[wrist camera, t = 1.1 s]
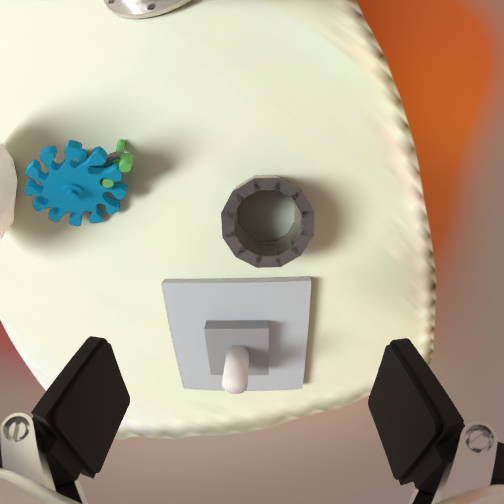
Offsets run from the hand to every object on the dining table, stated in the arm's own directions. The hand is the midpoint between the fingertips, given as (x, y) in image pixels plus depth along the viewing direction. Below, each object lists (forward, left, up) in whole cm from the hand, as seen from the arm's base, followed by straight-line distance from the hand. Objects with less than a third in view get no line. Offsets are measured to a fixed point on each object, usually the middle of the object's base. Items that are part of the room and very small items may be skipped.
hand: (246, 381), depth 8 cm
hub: (-2, +1, -18) cm, 18 cm away
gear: (-6, -15, -18) cm, 24 cm away
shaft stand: (+11, -2, -18) cm, 21 cm away
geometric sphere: (-8, -31, -18) cm, 37 cm away
